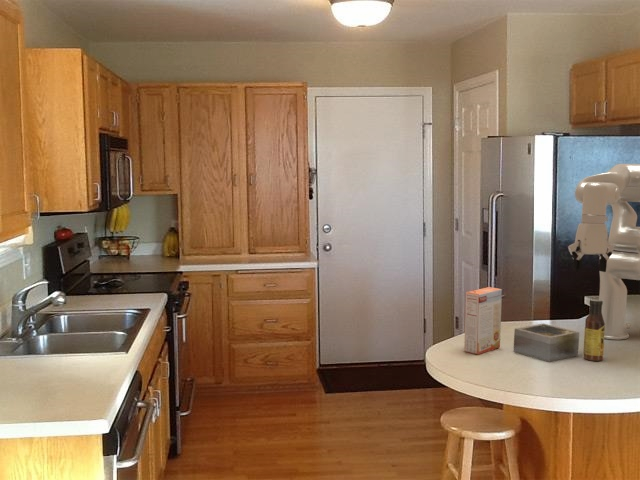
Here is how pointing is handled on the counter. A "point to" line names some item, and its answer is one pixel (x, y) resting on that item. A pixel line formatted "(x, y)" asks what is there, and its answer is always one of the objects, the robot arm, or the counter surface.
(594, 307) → the sauce bottle
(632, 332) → the counter surface
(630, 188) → the robot arm
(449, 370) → the counter surface
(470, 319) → the cracker box
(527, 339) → the grey square tray
